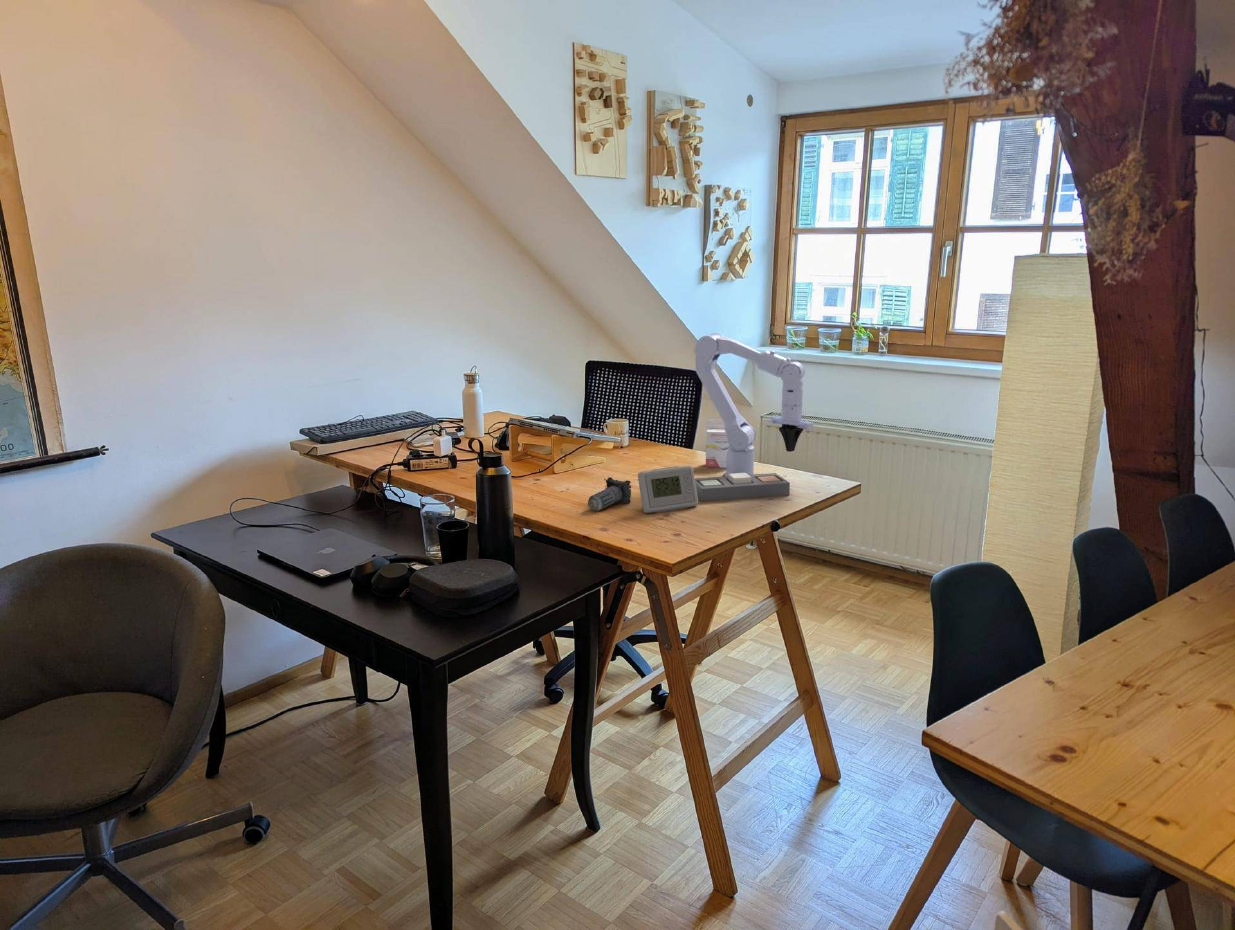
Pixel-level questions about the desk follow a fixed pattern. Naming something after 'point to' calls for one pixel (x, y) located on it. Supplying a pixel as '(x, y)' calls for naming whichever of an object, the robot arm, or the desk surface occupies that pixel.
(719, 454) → the ink cartridge box
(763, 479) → the terracotta key
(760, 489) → the panel
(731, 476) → the cream key
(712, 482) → the sage key
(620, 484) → the ribbed flanged cylinder
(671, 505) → the digital clock
